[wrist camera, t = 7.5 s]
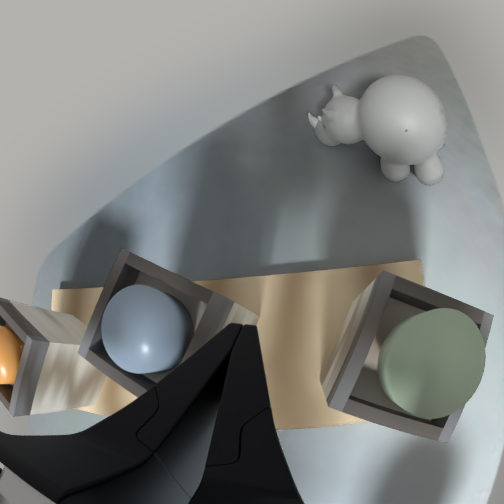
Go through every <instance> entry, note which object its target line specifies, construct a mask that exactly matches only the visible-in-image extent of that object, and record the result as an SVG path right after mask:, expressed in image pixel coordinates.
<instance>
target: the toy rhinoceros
mask: <svg viewBox="0 0 504 504" xmlns="http://www.w3.org/2000/svg"><path fill="white" fill-rule="evenodd" d="M332 92H333V97H332V99H331V100H330V101H329V102H328V103H327V105H326V106H325V108H323V109H322V113H323V114H322V116H318V118H316V117H314V116H312V115H311V114H310V113H309V112H308V119H309V121H310V123H311V125H312V126H313V127H314V128H315V135H316V137H317V138H318V139H319V140H320V141H321V142H322V143H323V144H325V145H327V146H337V145H339V144H341V143H343V144H355V143H358V142H359V141H361V140H364V141H365V142H366V143H367V145H368V146H369V147H370V148H371V149H372V150H373V151H374V152H375V153H376V154H377V155H379V156H380V157H381V160H380V166H381V171H382V173H383V175H384V176H385V177H386V178H387V179H388V180H390V181H393V182H399V181H402V180H404V179H405V178H406V177H407V176H408V175H409V173H410V165H414V171H415V175H416V177H417V179H418V180H419V181H420V182H421V183H422V184H424V185H427V186H432V185H435V184H437V183H439V182H440V181H441V180H442V179H443V176H444V167H443V164H442V161H441V159H440V157H439V155H438V154H437V152H438V150H440V149H441V148H442V147H443V145H444V143H445V134H446V128H447V122H446V115H445V111H444V108H443V105H442V103H441V101H440V100H439V98H438V97H437V95H436V94H435V93H434V92H433V90H432V89H431V88H429V87H428V86H427V85H426V84H424V83H423V82H421V81H420V80H418V79H415V78H413V77H410V76H406V75H389V76H385V77H382V78H380V79H378V80H376V81H375V82H373V83H372V84H371V85H370V86H369V87H368V88H367V89H366V91H365V92H364V94H363V96H362V97H361V99H357V98H355V97H352V96H347V95H344V94H343V93H342V92H341V90H340V89H339V88H338V87H337V86H336V85H332Z"/></svg>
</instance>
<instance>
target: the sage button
mask: <svg viewBox="0 0 504 504" xmlns="http://www.w3.org/2000/svg"><path fill="white" fill-rule="evenodd" d="M485 358H486V356H485V345H484V341H483V337H482V335H481V332H480V330H479V329H478V327H477V325H476V324H475V323H474V321H473V320H472V319H471V318H469V317H468V316H467V315H466V314H464V313H462V312H460V311H458V310H455V309H450V308H438V309H433V310H430V311H427V312H424V313H421V314H417V315H414V316H411V317H409V318H406V319H405V320H403V321H401V322H400V323H399V324H397V325H396V326H395V327H394V328H393V329H392V330H391V331H390V333H389V334H388V335H387V337H386V339H385V340H384V342H383V344H382V346H381V349H380V352H379V357H378V364H377V372H378V378H379V382H380V385H381V387H382V389H383V391H384V393H385V394H386V395H387V397H388V398H389V399H390V400H391V401H393V402H394V403H395V404H397V405H398V406H400V407H401V408H403V409H404V410H406V411H408V412H409V413H411V414H413V415H414V416H417V417H420V418H425V419H437V418H441V417H445V416H448V415H450V414H452V413H454V412H455V411H457V410H458V409H460V408H461V407H462V406H463V405H465V404H466V403H467V402H468V400H469V399H470V398H471V397H472V396H473V394H474V393H475V391H476V389H477V387H478V386H479V384H480V381H481V379H482V376H483V372H484V367H485Z"/></svg>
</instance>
